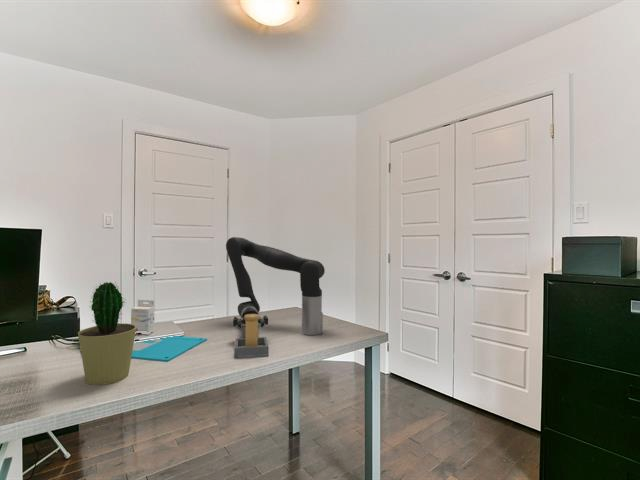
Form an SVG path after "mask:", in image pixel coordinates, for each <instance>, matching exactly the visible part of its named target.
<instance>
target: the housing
mask: <svg viewBox="0 0 640 480" xmlns="http://www.w3.org/2000/svg"><path fill="white" fill-rule="evenodd" d="M234 341H235V345H234V346H235V347H234V359H242V358H257V357H269V353H270V351H269V349H270V348H269V343H268V340H267V336H262V337H261V336H260V337H259V336H258V346H253V347H245V338H241V337H240V338H235V340H234Z"/></svg>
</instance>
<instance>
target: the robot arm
mask: <svg viewBox="0 0 640 480" xmlns="http://www.w3.org/2000/svg"><path fill="white" fill-rule="evenodd" d="M225 249H226V253H227V256H228V258H229V262H230V264H231V268H232V270H233V273H234V278H235V281H236V286H237V291H238V292H237V293H238V296H239V297H240V298H249V299H250V300H248V301H244V302H241V303H239V304H238V306H237V312H238V316H240V318H238V317H237V316H234V317H233V320H232V324H233V325H232V327H237V328H239V329H242V327H244V326H245V327H246V321H245V320H244V316H245V315H247V314H258V315H259V313H260V311H261V307H260V304H259V302H258V300H257V298H256V296H255V294H254V289H253V284H252V279H251V277H250V274H249V272H248V271H247V268H246V267H245V264H244V262H243V256H244V257H248V258H252V259H255V260H256V261H258V262H260V263H261V264H263V265H265V266H268V267H271V268H273V269H275V270H276V269H277V270H281V271H282V270H283V271H289V272H294V273H295V272H296V273H299V278H300V279H299V282H300V291H301V334H303V335H306V336H317V335H321V334H323V332H324V331H323V330H324V329H323V327H324V326H323V325H324V323H323V322H324V319H323V318H324V315H323V314H324V313H323V311H322V310H323V309H322V307H323V305H322V304H323V300H322V299H323V290H322V289H321V287H320V279H322V277H324V275H325V273H326V272H325V269H326V268H325V266H324V265H323V263H321V262H320V261H318V260H314V259H308V258H304V257H301V256H297V255H295V254H293V253H289V252H287V251H284V250H282V249H278V248H275V247H271V246H269V245H268V246H267V245H261V244H258V243H255V242H253V241H251V240H248V239H246V238H244V237H237V236H232V237H230V238H228V239H227V241H226V243H225ZM265 325H269V318H268V316H267V315H263V316H262V317H261V316H259V320H258V326H260V328H263V327H265Z"/></svg>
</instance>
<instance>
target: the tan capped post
mask: <svg viewBox="0 0 640 480" xmlns="http://www.w3.org/2000/svg"><path fill="white" fill-rule="evenodd" d="M259 317H260V314H259V313H258V314H247V315H245V316H244V320H245V321H246V326H245V347H253V346H258V338H259V336H258V335H259V331H258V330H259V328H258V327H259V325H258V320H259Z"/></svg>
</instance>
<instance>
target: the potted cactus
mask: <svg viewBox="0 0 640 480" xmlns="http://www.w3.org/2000/svg"><path fill="white" fill-rule="evenodd" d="M116 282H117V281H115V282H111V281H110V282H107V281H106V282H103V283H102V284H101V282H99V285H98V287H96V286H95V285H94V286H95V287H96V288H95V290H94V291H92V294H91V299H92V301H90V300H89V302H90V303H91V305H89V307H91V311H93V319H92V321H91V323H95V326H91V327H87V328H83V329H81V330H80V331H78V332H77V335H78V337H77V338H78V343H79V349H80V355H81V360H82V367H83V373H84V377H85V382H86V384H88V385H92V386H93V385H95V386H98V385H101V386H102V385H108V384H112V383H116V382H119V381H122V380H124V379H126V378H127V377H128V376H129V374H130V369H131V367H130V366H131V361H132V358H131V356H132V350H133V344H134V340H135V339H136V338H135V337H136V334H135V332H136V328H137V326H136V325H134V324H131V323H126V322H125V323H121V322H119V321H120V320H121V319H122V317H121V316H123V315H124V314H123V312H122V308H123V307H124V306H125V303H126V302H125V301H127V299H126V298H125V297H123V294H122V292H121V291H120V290H119V286H117V283H118V282H117V283H116ZM94 286H93V287H94ZM123 300H124V301H123ZM119 319H120V320H119Z"/></svg>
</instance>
